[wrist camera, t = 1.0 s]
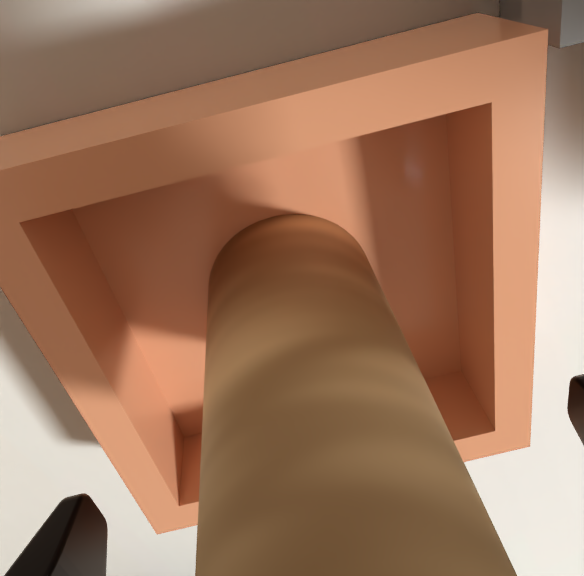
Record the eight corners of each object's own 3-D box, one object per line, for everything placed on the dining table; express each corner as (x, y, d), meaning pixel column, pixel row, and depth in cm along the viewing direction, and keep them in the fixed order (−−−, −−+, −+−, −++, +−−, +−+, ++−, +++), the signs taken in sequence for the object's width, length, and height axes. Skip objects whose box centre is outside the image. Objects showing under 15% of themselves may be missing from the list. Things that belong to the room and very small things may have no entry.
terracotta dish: (477, 12, 12) (548, 28, 9) (485, 375, 18) (529, 446, 15) (-3, 137, 12) (-64, 186, 9) (166, 452, 18) (157, 534, 15)
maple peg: (358, 195, 13) (602, 633, 5) (380, 332, 15) (567, 784, 7) (185, 238, 13) (118, 742, 5) (234, 367, 16) (246, 855, 7)
